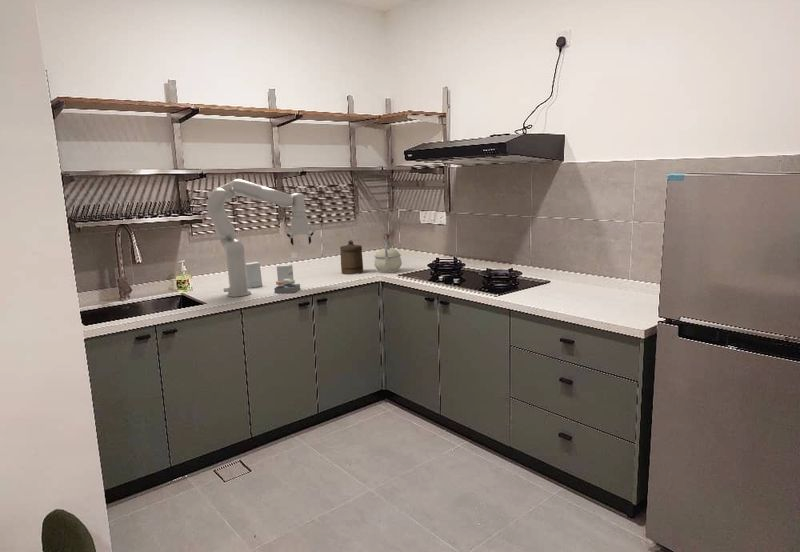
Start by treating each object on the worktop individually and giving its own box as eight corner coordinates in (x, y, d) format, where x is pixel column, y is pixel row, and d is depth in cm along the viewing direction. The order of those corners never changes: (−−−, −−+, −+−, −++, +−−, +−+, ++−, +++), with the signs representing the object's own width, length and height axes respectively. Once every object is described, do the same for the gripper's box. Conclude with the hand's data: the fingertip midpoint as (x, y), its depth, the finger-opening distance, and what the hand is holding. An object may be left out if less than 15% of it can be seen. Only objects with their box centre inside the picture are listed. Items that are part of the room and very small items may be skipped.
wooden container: (365, 270, 363) (363, 239, 359) (360, 274, 348) (358, 241, 345) (344, 271, 365) (342, 239, 361) (339, 274, 350) (336, 242, 347)
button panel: (274, 293, 293) (274, 287, 292) (281, 289, 304) (281, 283, 304) (293, 293, 291) (293, 287, 291) (300, 288, 303) (299, 283, 303)
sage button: (286, 284, 294) (286, 281, 293) (289, 282, 298) (288, 279, 297) (293, 283, 293) (293, 280, 293) (295, 282, 297) (295, 279, 297)
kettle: (376, 269, 364) (374, 233, 360) (402, 268, 363) (400, 232, 359) (373, 275, 340) (370, 237, 336) (401, 274, 339) (399, 235, 335)
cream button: (282, 282, 299) (282, 279, 299) (285, 281, 303) (284, 278, 303) (289, 282, 299) (289, 279, 298) (291, 281, 302) (291, 278, 302)
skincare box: (260, 285, 324) (257, 261, 321) (262, 286, 319) (260, 262, 316) (246, 287, 320) (244, 263, 317) (248, 288, 315) (246, 263, 312)
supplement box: (289, 286, 313) (287, 265, 311) (278, 287, 314) (276, 266, 312) (294, 284, 320) (292, 264, 318) (283, 284, 321) (281, 264, 319)
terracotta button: (275, 284, 292) (274, 282, 292) (277, 283, 296) (277, 280, 296) (282, 284, 292) (281, 281, 292) (284, 283, 296) (284, 280, 296)
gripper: (283, 216, 298) (285, 246, 300) (314, 214, 300) (316, 244, 303) (283, 215, 305) (286, 244, 308) (313, 214, 308) (316, 243, 310)
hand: (301, 244), depth 305 cm, fingers open, 9 cm apart
